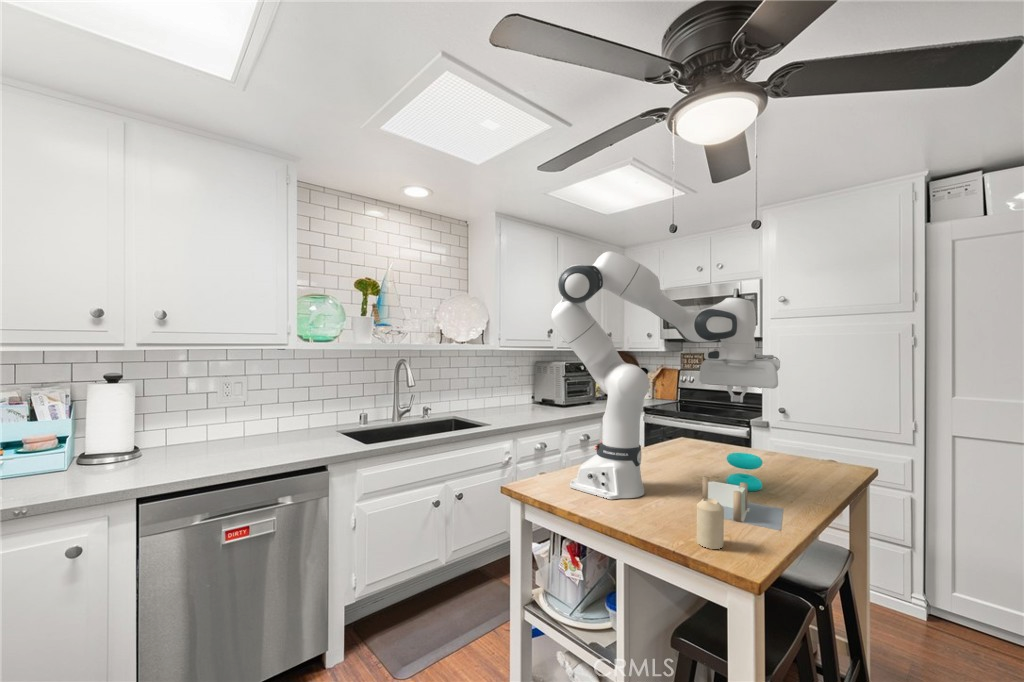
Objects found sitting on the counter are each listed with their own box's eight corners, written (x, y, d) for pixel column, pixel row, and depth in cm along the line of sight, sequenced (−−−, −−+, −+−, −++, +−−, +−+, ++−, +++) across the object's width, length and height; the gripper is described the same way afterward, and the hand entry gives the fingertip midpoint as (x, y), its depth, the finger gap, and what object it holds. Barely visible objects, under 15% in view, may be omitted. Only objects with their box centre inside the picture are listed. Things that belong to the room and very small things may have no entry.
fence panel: (738, 508, 119) (739, 483, 119) (746, 510, 118) (746, 484, 118) (732, 519, 111) (732, 492, 111) (740, 521, 110) (740, 493, 110)
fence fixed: (701, 502, 124) (701, 477, 124) (702, 500, 126) (703, 475, 126) (746, 511, 118) (747, 485, 118) (747, 509, 119) (747, 483, 119)
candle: (715, 552, 95) (715, 506, 95) (691, 543, 99) (692, 498, 99) (728, 545, 98) (728, 501, 98) (705, 536, 103) (705, 494, 103)
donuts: (734, 459, 134) (721, 451, 144) (733, 492, 134) (721, 481, 144) (768, 460, 133) (753, 452, 143) (768, 493, 133) (753, 482, 143)
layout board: (696, 514, 116) (696, 512, 116) (708, 495, 131) (708, 494, 131) (780, 531, 106) (780, 530, 106) (783, 509, 120) (783, 508, 120)
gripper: (780, 355, 123) (779, 404, 123) (702, 352, 135) (701, 397, 135) (779, 355, 118) (778, 406, 118) (698, 352, 130) (697, 399, 130)
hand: (736, 401), depth 127 cm, fingers closed
